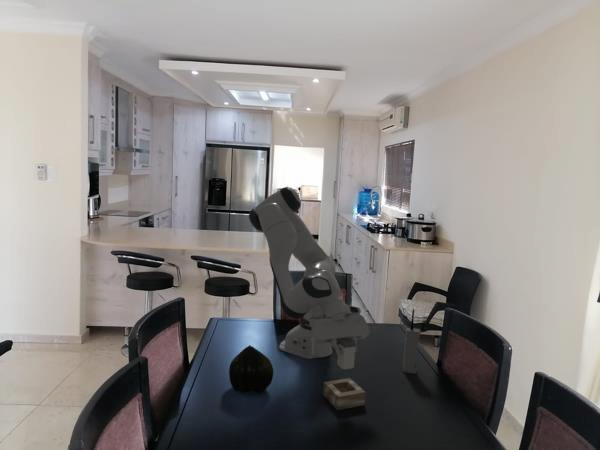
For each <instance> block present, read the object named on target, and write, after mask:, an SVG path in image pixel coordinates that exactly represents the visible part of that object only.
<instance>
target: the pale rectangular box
mask: <svg viewBox="0 0 600 450" xmlns="http://www.w3.org/2000/svg"><path fill="white" fill-rule="evenodd" d="M337 345H338V346H339V347H341V348H342V351H343V353H342V354H338V355H337V360H336V361H337V362H336V365H337V366H339V368H340V369H342V370H349V369H350V370H351V369H355V368H354V367H355V356H356V352H355V345H356V346H357V343H355V342H354V341H352V340H351V339H340V340H339V341H338V344H337Z"/></svg>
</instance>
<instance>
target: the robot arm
mask: <svg viewBox="0 0 600 450" xmlns="http://www.w3.org/2000/svg"><path fill="white" fill-rule="evenodd" d="M298 193H299V192H297V191H296V189H294V188H292V187H290V186H285V187H282V188H280V189H279V190H278V191H276V192H274V193H273V194H271V195H268V196H267V197H266V198H265V199H264V200H262V201H261V202H260V203H258V205H257V206H254V207H253V208H252V209H251V210H250V211H249V213H248V219H249V222H250V224H251V226H252V227H253V228H254V229H255V230H256V231H258V232H262V233H263V234H264V236H265V239H266V242H267V246H268V253H269V264H270V268H271V272H272V275H273V278H274V281H275V284H276V287H277V290H278V294H279V300H280V306H281V310H282V311H283V312H284V314H285V315H286V316H287V317H289V318H291V319H296V320H298V323H299V324H298V325H297V326H295V327H293V328H292V329H290V330H289V331H288V332H287V334H286V336H285V339H284V340H282V341H281V342H280V344H279V347H278V348H279V350H280V351H283V352H285V353H289V354H292V355H294V356H297V357H301V358H304V359H307V360H311V359H317V358H319V359H320V358H325V357H329V356H330V355H332V354H333V349H334V350H335V353H336V355H337V356H338V354H342V353H343V351H342V348H341V347H339V346H338V345H339V344H338V342H339V340H340V339H351V340H352V341H354V342H355V343H356V345H355V353H356V352H357V351H358V349H357V343H358V340H360V339H361V340H362V339H366V338H367V337H368V336H369V335H370V328H369V326H368V322H367V320H366V318H365V317H364V316H363V315H362V314H361V313H362V310H361V308H360V307H359V306H358V307H357V306H353V305H350V304H347V303H346V302H345V300H344V299H343V297H342V291H341V288H340V285H339V281H338V280H337V278H336V277H335V275H336V265H335V263H334V262H333V260H332V259H331V258H330V257H329V256H328V254H327V253H326V252H325V251H324V249H323V248H322V247H321V246H320V245H319V244H318V242H317V241H316V239H315V238H314V236H313V234H312V233H311V231H310V230H309V228H308V227H307V225H306V223H305V222H304V221H303V219H302V218H301V217H300V216H299V215H298V214H299V212H300V211H299V210H300V209H301V205H302V201H301V198H300V194H298ZM292 256H293V257H294V258H295V259H297V260H298V261H299V263H301V265H302V266H303V267H304V268H305V270H304V272H303V278H301V279H300V280H299V281H298V282H297V283H296V284H294V282H293V278H292V276H291V273H290V267H289V266H290V261H291V257H292ZM332 348H333V349H332Z"/></svg>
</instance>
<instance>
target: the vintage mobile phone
mask: <svg viewBox="0 0 600 450" xmlns="http://www.w3.org/2000/svg"><path fill="white" fill-rule="evenodd" d="M411 312H412V314H411V315H412V316H411V322H410V327H406V329H405V339H404V351H403V363H402V371H403V373H406V374H407V373H408V374H414V375H416V374H417V371H418V370H417V366H416V353H417V347H418V345H419V341H420V337H421V329H420V328H414V315H415V308H412V311H411Z"/></svg>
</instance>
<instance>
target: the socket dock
mask: <svg viewBox="0 0 600 450" xmlns="http://www.w3.org/2000/svg"><path fill="white" fill-rule="evenodd" d="M323 396H324V397H325V398H326V399H327V401H328V402H329V403H330V404H331V405H332V406H333V407H334V408H335V410H336V411H341V410H345V409H351V408H355V407H361V406H365V404H366V401H365V400H366V391H365V390H364V389H363V388H362V387H361V386H359V384H357V383H356V382H355V381H353V380H352V379H351V377H348V378H341V379H336V380H330V381H324V382H323Z"/></svg>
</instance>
